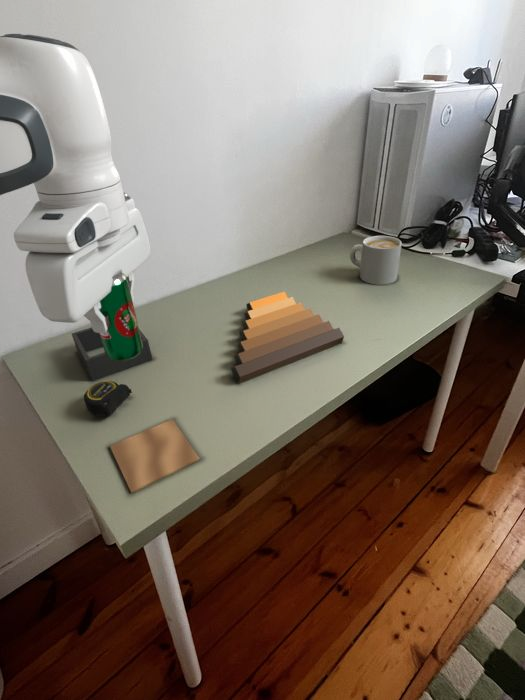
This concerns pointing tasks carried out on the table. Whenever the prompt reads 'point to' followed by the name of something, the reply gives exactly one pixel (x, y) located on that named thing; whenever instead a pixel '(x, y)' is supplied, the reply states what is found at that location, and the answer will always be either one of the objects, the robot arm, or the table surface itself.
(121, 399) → the tape measure
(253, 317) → the pan flute
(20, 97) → the robot arm
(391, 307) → the table surface
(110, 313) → the soda can
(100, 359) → the black box
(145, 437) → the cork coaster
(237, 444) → the table surface
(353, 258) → the coffee mug
